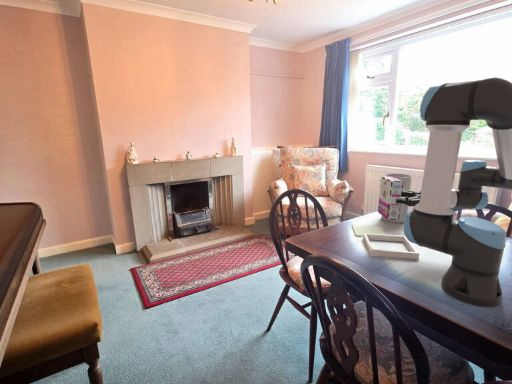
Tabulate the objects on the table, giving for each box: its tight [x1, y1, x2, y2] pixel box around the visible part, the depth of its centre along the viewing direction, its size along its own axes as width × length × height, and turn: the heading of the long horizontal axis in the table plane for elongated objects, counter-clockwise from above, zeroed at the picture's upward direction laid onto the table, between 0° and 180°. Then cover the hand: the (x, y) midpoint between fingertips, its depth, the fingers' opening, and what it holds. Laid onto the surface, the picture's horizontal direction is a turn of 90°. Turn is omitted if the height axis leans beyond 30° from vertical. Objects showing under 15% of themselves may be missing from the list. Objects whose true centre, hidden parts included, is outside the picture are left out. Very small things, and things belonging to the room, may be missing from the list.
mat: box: [351, 224, 387, 238], centre depth 138 cm, size 14×14×1 cm
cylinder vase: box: [381, 173, 412, 224], centre depth 153 cm, size 12×12×25 cm
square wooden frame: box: [362, 233, 420, 260], centre depth 120 cm, size 18×18×2 cm
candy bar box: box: [377, 175, 403, 220], centre depth 117 cm, size 11×5×16 cm, turn 177°
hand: (383, 196), depth 118 cm, fingers closed on candy bar box, 11 cm apart
